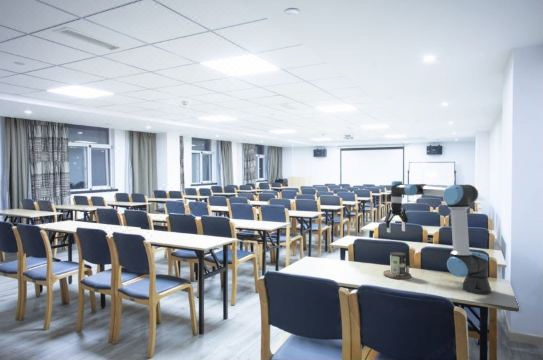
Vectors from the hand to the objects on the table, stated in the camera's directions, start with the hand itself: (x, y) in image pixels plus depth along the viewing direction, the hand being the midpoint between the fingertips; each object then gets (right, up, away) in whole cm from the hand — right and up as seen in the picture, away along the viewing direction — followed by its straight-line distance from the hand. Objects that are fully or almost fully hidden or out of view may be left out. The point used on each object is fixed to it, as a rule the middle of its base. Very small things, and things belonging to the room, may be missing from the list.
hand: (396, 231), depth 263 cm
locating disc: (-3, -29, -10) cm, 31 cm away
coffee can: (-3, -28, -11) cm, 30 cm away
